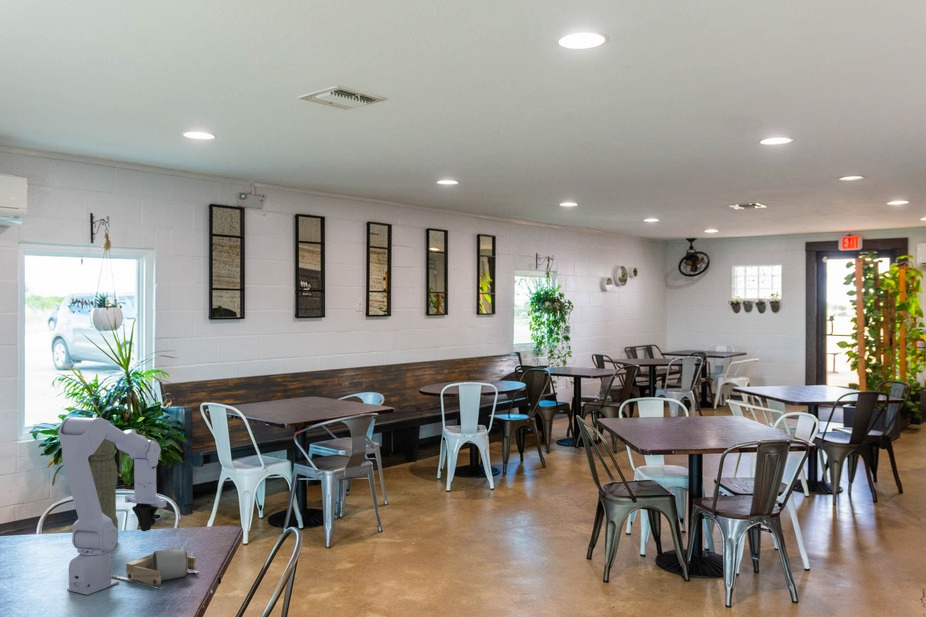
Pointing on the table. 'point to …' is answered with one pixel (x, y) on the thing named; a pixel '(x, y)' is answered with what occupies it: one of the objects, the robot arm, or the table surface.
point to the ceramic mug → (170, 563)
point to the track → (138, 581)
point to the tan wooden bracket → (150, 569)
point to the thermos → (106, 477)
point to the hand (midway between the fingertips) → (145, 530)
